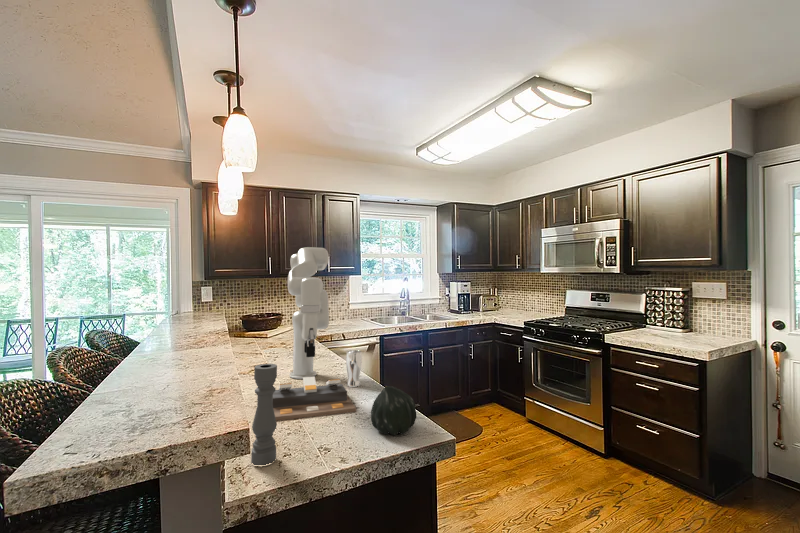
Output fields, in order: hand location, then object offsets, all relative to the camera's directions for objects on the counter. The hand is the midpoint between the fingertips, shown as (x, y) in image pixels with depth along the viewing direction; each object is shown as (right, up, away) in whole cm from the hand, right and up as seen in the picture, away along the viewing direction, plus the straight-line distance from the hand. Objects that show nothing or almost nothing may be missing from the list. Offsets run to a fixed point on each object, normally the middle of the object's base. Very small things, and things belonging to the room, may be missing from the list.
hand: (309, 354), depth 144 cm
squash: (+34, -18, -27) cm, 46 cm away
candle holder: (-1, -17, -47) cm, 50 cm away
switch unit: (+2, -18, -6) cm, 19 cm away
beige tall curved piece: (+15, -19, +20) cm, 31 cm away
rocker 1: (-8, -11, -6) cm, 14 cm away
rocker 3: (+9, -11, 0) cm, 14 cm away
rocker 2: (+1, -11, -3) cm, 11 cm away
